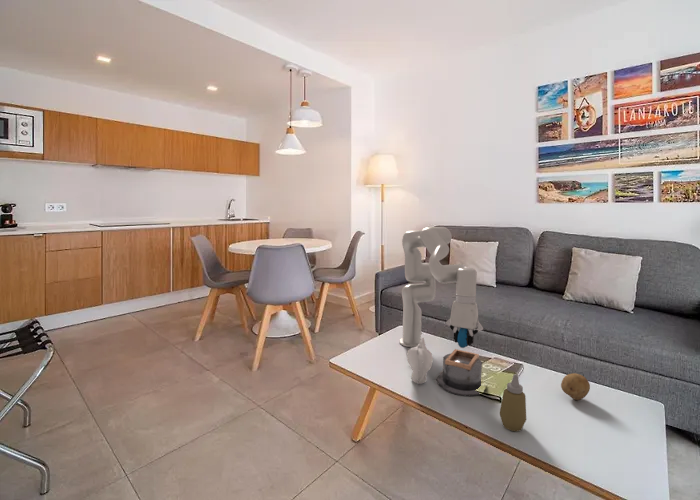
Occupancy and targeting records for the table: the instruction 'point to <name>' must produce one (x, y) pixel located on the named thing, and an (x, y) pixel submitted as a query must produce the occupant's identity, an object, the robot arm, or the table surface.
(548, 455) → the table surface
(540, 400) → the table surface
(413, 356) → the shell sculpture
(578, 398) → the natural sponge
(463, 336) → the ornament
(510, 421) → the squeeze bottle
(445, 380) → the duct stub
